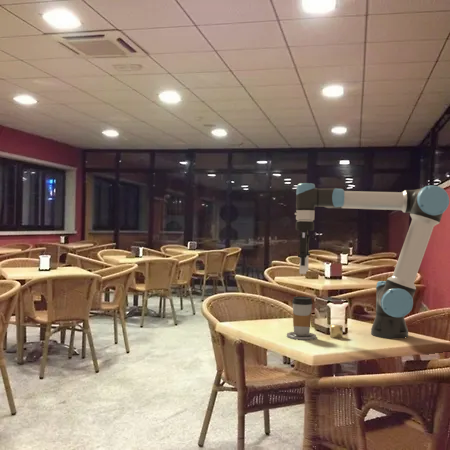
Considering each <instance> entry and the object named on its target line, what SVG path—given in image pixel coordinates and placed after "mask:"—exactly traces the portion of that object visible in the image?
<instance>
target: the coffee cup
mask: <svg viewBox="0 0 450 450" xmlns="http://www.w3.org/2000/svg"><path fill="white" fill-rule="evenodd" d="M291 301H292V303H291V304H292V326H293V332H294V334H295V335H299V336H307V335H309V333H311V331H310V329H311V321H312V308H313V300H312V297H309V296H293V299H292V300H291Z"/></svg>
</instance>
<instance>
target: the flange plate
mask: <svg viewBox="0 0 450 450" xmlns="http://www.w3.org/2000/svg"><path fill="white" fill-rule="evenodd" d="M286 337H287V338H288V339H291V340H296V339H298V340H297V341H311V340H310V339H313V340H316V339H317V335H316V334H315V333H313V332H309V335H307V336H299V335H295V334H294V331H289V332H287V333H286ZM315 338H316V339H315Z"/></svg>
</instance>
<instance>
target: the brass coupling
mask: <svg viewBox="0 0 450 450" xmlns="http://www.w3.org/2000/svg"><path fill="white" fill-rule="evenodd" d="M343 328H344V326H343V325H341V324H331V325H330V329H329V331H330V332H329V333H330V334H329V337H330V338H331V339H337V340H339V339H343V332H344V329H343Z"/></svg>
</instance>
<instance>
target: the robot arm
mask: <svg viewBox="0 0 450 450" xmlns="http://www.w3.org/2000/svg"><path fill="white" fill-rule="evenodd" d="M295 194H296V195H295V198H296V199H295V200H296V201H295V208H296V209H295V211H296V212H294V215H295V220H296V222H295V230H296V231H301V232H300V234H299V254H298V255H297V257H298V258H299V270H298V271H299V274H300V275H307V272H309V257H310V256H311V253H310V252H309V251H310V250H309V249H310V248H309V244H310V239H311V235H310V233H309V231H314V230H315V222H314V221H315V213H316V212H315V208H316V207H317V208H318V207H320V208H321V207H324V208H326V209H357V210H358V209H359V210H384V211H387V210H389V211H402V213H404V214H406V213H407V214H408V213H409V216H410V218H411V221H410V225H409V228H408V231H407V233H406V236H405V238H404V241H403V245H402V247H401V250H400V252H399V257H398V258H397V262H396V265H395V267H394V271H393V273H392V275H391V276H390V277H388V278H387V279H386V280H379V281H377V283H376V287H375V289H376V293H375V296H376V299H375V318H374V321H373V323H372V325H371V328H370V330H371V331H370V334H371V335H372V336H375V337H377V338H382V337H383V339H391V338H403V339H406V338H405V337H407V338H408V337H409V330H408V326H407V323H406V320H405V316H407V315H408V314H410V312H412V310H413V306H414V296H415V294H416V290H417V287H416V285H415V281H416V278H417V275H418V272H419V270H420V267H421V264H422V261H423V259H424V255H425V253H426V249H427V248H428V244H429V242H430V240H431V236H432V233H433V230H434V227H436V226H437V225H439V224H440V223H441V220H442V217H443V214H444V213H445V212H446V210H447V209H448V207H449V205H450V195H449V194H448V192H447V191H446V189H444V188H443V187H441V186H438V185H433V184H432V185H426V186H424V187H420V188H417V189H404V190H403V191H401V192H400V191H399V192H398V191H365V190H364V191H363V190H361V191H360V190H359V191H356V190H355V191H354V190H344V189H343V188H337V187H334V188H319V187H316V185H315V183H311V182H310V183H309V182H303V183H302V182H300V183H298V184H296V191H295Z"/></svg>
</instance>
